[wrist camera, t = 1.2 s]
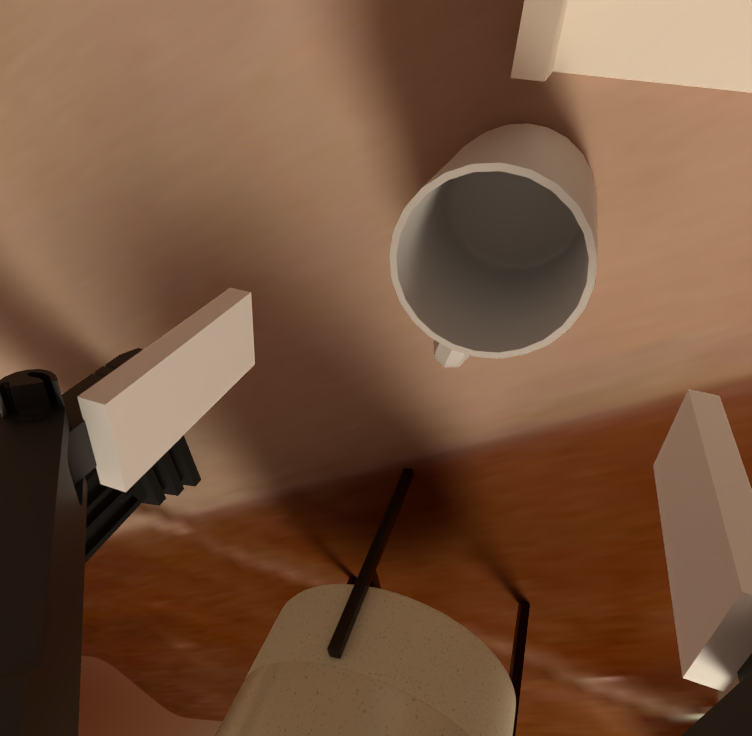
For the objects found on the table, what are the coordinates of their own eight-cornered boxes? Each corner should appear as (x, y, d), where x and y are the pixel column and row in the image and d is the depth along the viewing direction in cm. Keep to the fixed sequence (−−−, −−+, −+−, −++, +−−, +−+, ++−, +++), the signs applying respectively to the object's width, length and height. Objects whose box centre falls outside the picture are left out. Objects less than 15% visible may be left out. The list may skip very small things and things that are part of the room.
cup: (628, 154, 24) (642, 211, 17) (529, 337, 30) (509, 437, 23) (474, 96, 25) (425, 128, 18) (407, 286, 31) (350, 367, 24)
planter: (523, 475, 35) (441, 986, 17) (537, 636, 42) (492, 1112, 24) (309, 461, 41) (70, 831, 22) (354, 605, 48) (204, 972, 30)
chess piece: (89, 393, 45) (-194, 603, 29) (169, 398, 42) (-95, 634, 26) (125, 470, 49) (-106, 692, 33) (201, 479, 46) (-11, 727, 30)
